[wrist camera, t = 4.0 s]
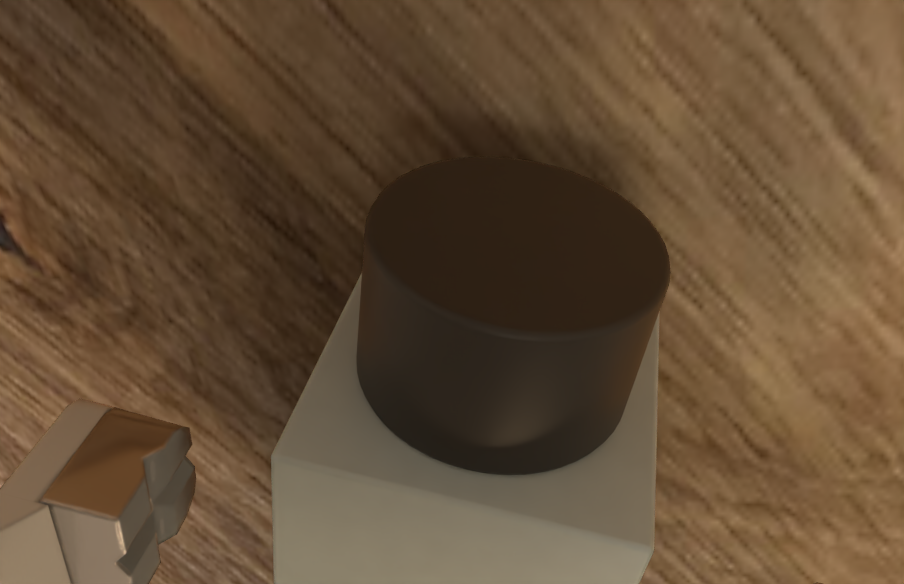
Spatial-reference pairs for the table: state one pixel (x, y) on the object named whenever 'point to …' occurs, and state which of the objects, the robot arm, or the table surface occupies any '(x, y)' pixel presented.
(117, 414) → the robot arm
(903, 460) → the table surface
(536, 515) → the vial
